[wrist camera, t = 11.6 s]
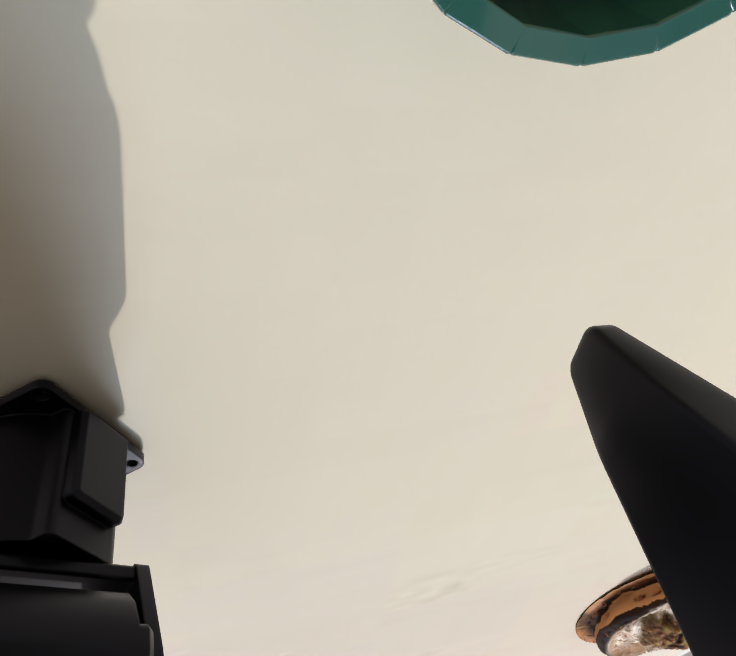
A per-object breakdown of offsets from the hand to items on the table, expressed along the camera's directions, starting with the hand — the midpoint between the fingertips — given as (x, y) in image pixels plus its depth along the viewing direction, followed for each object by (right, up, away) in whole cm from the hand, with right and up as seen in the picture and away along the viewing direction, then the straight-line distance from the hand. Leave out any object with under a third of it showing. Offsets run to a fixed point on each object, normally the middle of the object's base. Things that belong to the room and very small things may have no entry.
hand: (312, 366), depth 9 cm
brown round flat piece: (+27, -24, +48) cm, 60 cm away
